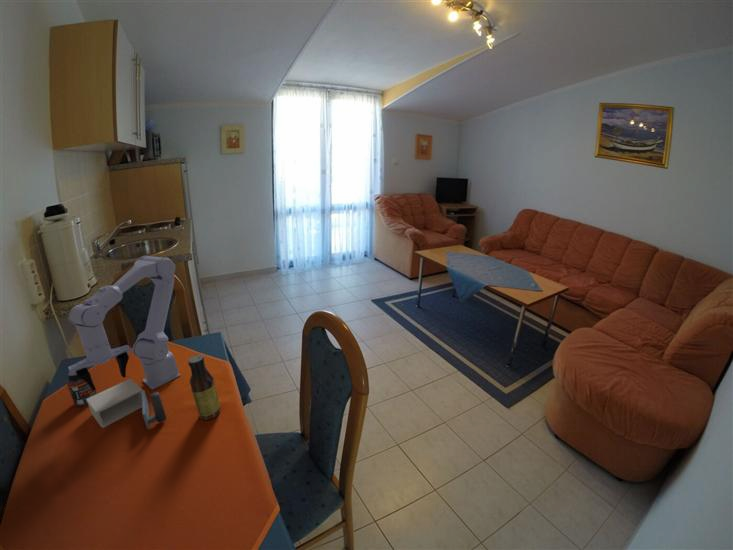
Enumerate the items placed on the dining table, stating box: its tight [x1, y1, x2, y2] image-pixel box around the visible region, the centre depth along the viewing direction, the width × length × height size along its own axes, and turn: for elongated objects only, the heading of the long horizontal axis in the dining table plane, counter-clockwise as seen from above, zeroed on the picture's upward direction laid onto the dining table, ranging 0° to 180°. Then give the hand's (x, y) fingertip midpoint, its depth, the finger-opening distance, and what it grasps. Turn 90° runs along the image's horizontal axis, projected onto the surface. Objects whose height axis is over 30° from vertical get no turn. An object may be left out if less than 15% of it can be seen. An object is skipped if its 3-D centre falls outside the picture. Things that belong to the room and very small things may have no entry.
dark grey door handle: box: [141, 389, 167, 430], centre depth 102 cm, size 12×5×10 cm, turn 33°
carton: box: [86, 378, 143, 429], centre depth 105 cm, size 12×9×6 cm
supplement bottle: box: [66, 371, 98, 407], centre depth 108 cm, size 6×6×11 cm
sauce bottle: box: [187, 354, 221, 421], centre depth 100 cm, size 7×6×20 cm
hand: (109, 382), depth 102 cm, fingers open, 7 cm apart
